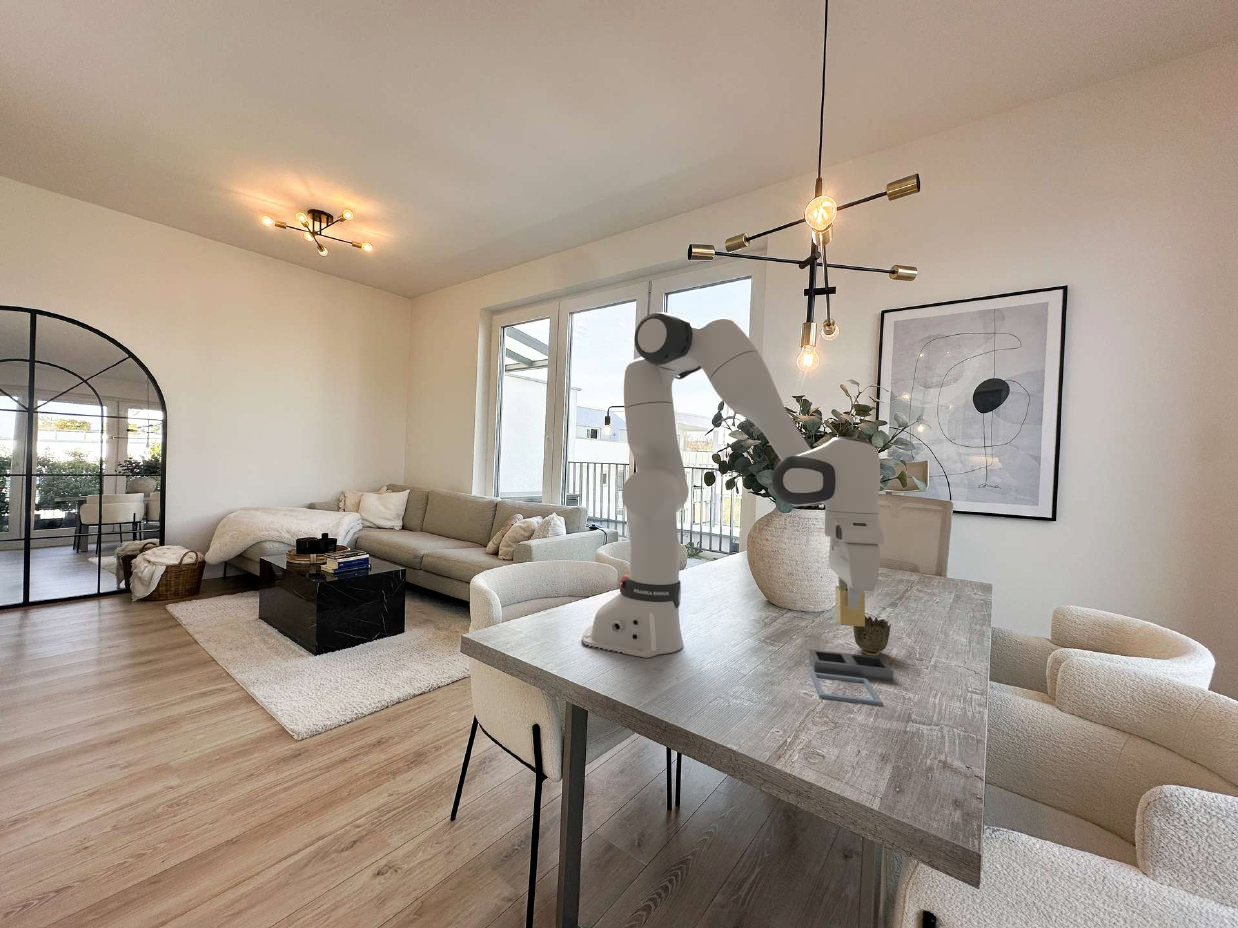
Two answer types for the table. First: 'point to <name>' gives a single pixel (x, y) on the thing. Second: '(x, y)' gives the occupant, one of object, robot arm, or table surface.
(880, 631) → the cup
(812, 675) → the blue-grey flat square frame
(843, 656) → the grey open box
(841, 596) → the yellow upright block
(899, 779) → the table surface
